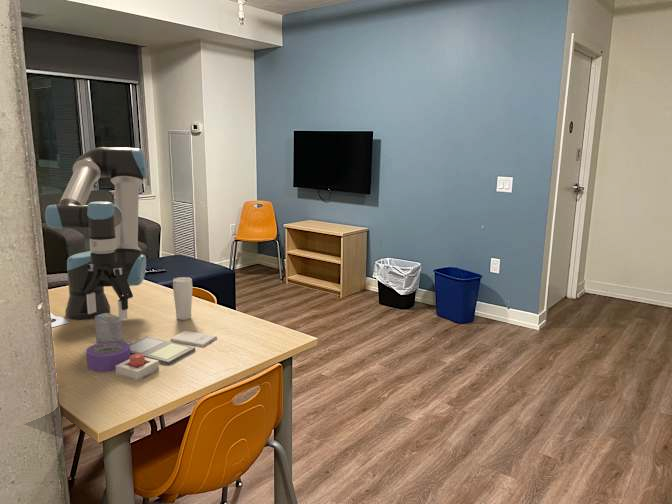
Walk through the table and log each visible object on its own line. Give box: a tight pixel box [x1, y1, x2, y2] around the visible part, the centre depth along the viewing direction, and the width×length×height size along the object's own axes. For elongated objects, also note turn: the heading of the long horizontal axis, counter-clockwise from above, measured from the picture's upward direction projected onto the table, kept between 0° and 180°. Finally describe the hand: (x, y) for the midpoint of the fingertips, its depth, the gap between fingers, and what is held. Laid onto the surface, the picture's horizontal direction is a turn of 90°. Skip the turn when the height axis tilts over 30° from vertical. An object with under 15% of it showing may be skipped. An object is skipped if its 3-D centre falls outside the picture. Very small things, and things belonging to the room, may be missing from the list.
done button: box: [129, 354, 145, 368], centre depth 143 cm, size 4×4×3 cm
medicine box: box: [94, 313, 124, 343], centre depth 164 cm, size 8×4×9 cm, turn 58°
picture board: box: [128, 336, 196, 366], centre depth 159 cm, size 20×12×1 cm, turn 66°
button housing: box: [115, 357, 160, 382], centre depth 144 cm, size 8×8×3 cm
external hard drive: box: [170, 330, 218, 348], centre depth 169 cm, size 2×8×12 cm
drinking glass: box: [172, 276, 193, 321], centre depth 187 cm, size 7×7×15 cm
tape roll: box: [86, 341, 131, 373], centre depth 149 cm, size 12×12×5 cm
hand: (107, 316), depth 163 cm, fingers open, 13 cm apart
